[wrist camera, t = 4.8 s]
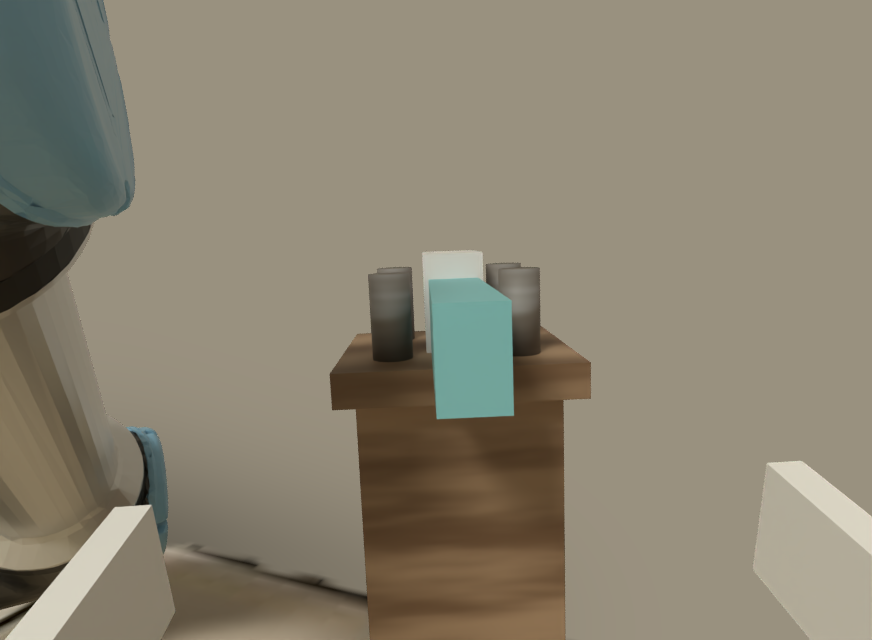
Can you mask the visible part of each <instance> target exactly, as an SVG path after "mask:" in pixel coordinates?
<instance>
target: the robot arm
mask: <svg viewBox="0 0 872 640" xmlns="http://www.w3.org/2000/svg"><path fill="white" fill-rule="evenodd" d="M134 191H135V176H134V158H133V151H132V144H131V138H130V132H129V123H128V117H127V112H126V106H125V101H124V95H123V90H122V85H121V81H120V77H119V74H118V71H117V65H116V60H115V56H114V52H113V47H112V45H111V41H110V37H109V28H108V21H107V16H106V11H105V7H104V2H103V0H0V610H2V609H5V608H9V607H13V606H17V605H21V604H24V603H28V602H32V601H36V600H37V602H36V603H35V604H34V605H33V606H32V608H31V609H30V610H29V611H28V612H27V614H26V615H25V616H24V617H23V618H22V620H21V621H20V622H19V623H18V624H17V626H16V627H15V628H14V629H13V630H12V632H11V633H10V634H9V635H8V636H7V638H6V639H5V640H161V639H162V637H163V635H164V633H165V631H166V629H167V627H168V625H169V623H170V621H171V619H172V617H173V615H174V613H175V611H176V610H175V606H174V601H173V597H172V592H171V588H170V583H169V579H168V575H167V570H166V566H165V561H164V557H163V554H164V552H165V549H166V544H167V536H168V525H167V520H166V519H167V517H168V493H167V479H166V470H165V462H164V455H163V451H162V445H161V442H160V440H159V437H158V436H157V434H156V432H155V431H154V430H153V429H151V428H147V427H142V428H136V427H125V426H124V425H123V424H121V423H120V422H119V421H117V420H116V419H115V418H113V417H111V416H109V415H107V414H106V412H105V408H104V404H103V401H102V397H101V393H100V390H99V386H98V382H97V379H96V375H95V372H94V368H93V364H92V361H91V357H90V353H89V350H88V346H87V342H86V339H85V335H84V331H83V328H82V324H81V320H80V317H79V313H78V310H77V306H76V302H75V299H74V295H73V291H72V288H71V284H70V280H69V277H68V273H67V272H68V270H70V269H71V267H72V266H73V264H74V263H75V262H76V260H77V259H78V257H79V256H80V255H81V253H82V251H83V250H84V248H85V246H86V244H87V242H88V240H89V237H90V234H91V231H92V228H93V224H94V222H95V221H96V220H98V219H99V218H101V217H107V216H109V215H111V216H115V215H118V214H119V213H121V212H122V211H124V210H126V209H127V208H128V207H129V206H130V204H131V202H132V200H133V197H134ZM753 570H754V572H755V573H756V574H757V575H758V576H759V577H760V579H761V580H762V581H763V583H764V584H765V585H766V586H767V587H768V589H769V590H770V591H771V592H772V594H773V595H774V596H775V597H776V598H777V600H778V601H779V602H780V603H781V605H782V606H783V607H784V608H785V610H786V611H787V612H788V613H789V614H790V616H791V617H792V618H793V619H794V621H795V622H796V623H797V624H798V625H799V627H800V628H801V629H802V630H803V632H804V633H805V634H806V635H807V636H808V638H809V639H810V640H872V516H870V515H869V514H868V513H867V512H865V511H864V510H863V509H862V508H860V507H859V506H858V505H857V504H855V503H854V502H852V500H850V499H849V498H848V497H846V496H845V495H844V494H843V493H841V492H840V491H839V490H838V489H836V488H835V487H834V486H833V485H831V484H830V483H829V482H827V481H826V480H825V479H824V478H823V477H821V476H820V475H819V474H817V473H816V472H815V471H814V470H812V469H811V468H810V467H809V466H807V465H806V464H805V463H804V462H802V461H792V462H777V463H767V465H766V473H765V480H764V488H763V496H762V503H761V511H760V519H759V525H758V533H757V541H756V548H755V556H754V563H753Z"/></svg>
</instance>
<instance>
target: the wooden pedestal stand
mask: <svg viewBox="0 0 872 640" xmlns="http://www.w3.org/2000/svg"><path fill="white" fill-rule="evenodd" d="M539 270H540V268H538V267H521V266H520V263H493V264H486V283H487V284H488V285H490V286H491V287H493V288H494V289H496V290H497V291H499V292H500V293H501V294H503V295H504V296H506V297H507V298H509V299H510V300H512V347H513V395H514V416H496V417H474V418H452V419H437V417H436V404H435V391H434V379H433V366H432V353H427V351H426V331H414V312H413V288H412V268H411V267H393V268H380V269H377V273H376V274H369V275H368V281H369V298H370V315H371V333H366V334H357V335H356V337H355V338H354V340H353V341H352V342H351V344H350V345H349V347H348V348H347V350H346V351H345V353H344V354H343V356H342V357H341V359H340V360H339V362H338V363H337V364H336V366H335V367H334V369H333V370H332V372H331V373H330V384H331V398H332V410H348V409H356V419H357V436H358V452H359V469H360V485H361V500H362V501H361V502H362V518H363V534H364V549H365V566H366V583H367V600H368V616H369V632H370V640H565V545H564V541H565V539H564V418H563V416H564V415H563V414H564V413H563V400H570V399H590V398H591V362H589V361H588V360H586V359H585V358H584V357H582V356H581V355H580V354H578V353H577V352H575V351H574V350H573V349H572V348H570V347H569V346H567V345H566V344H565V343H563V342H562V341H561V340H559V339H558V338H556V337H555V336H554V335H552V334H551V333H550V332H548V331H547V330H546V329H544V328H543V327H541V326H540V271H539Z"/></svg>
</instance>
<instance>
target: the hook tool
mask: <svg viewBox="0 0 872 640" xmlns="http://www.w3.org/2000/svg"><path fill="white" fill-rule="evenodd" d="M422 257H423V280H424V301H425V302H424V304H425V327H426V351H427V353H432V366H433V379H434V391H435V404H436V417H437V419H452V418H474V417H496V416H514V395H513V347H512V300H510V299H509V298H507V297H506V296H504V295H503V294H501V293H500V292H499V291H497V290H496V289H494V288H493V287H491V286H490V285H488V284H487V283H485V282H484V281H483V260H482V259H483V257H482V252H478V251H474V250H463V251H439V252H423V253H422Z"/></svg>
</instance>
